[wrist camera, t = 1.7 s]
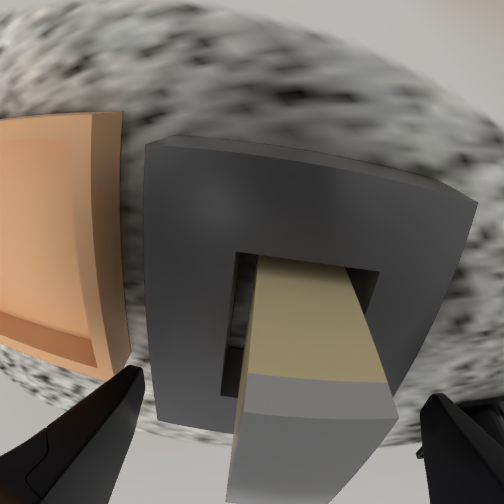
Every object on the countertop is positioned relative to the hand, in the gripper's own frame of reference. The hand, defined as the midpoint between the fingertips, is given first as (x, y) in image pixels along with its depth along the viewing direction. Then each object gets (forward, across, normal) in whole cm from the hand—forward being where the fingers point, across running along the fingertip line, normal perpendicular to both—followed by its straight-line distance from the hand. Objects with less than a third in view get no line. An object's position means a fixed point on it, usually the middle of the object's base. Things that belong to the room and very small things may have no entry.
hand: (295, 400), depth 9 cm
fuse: (+5, 0, 0) cm, 5 cm away
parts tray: (+5, +13, -1) cm, 14 cm away
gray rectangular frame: (+5, 0, 0) cm, 5 cm away
